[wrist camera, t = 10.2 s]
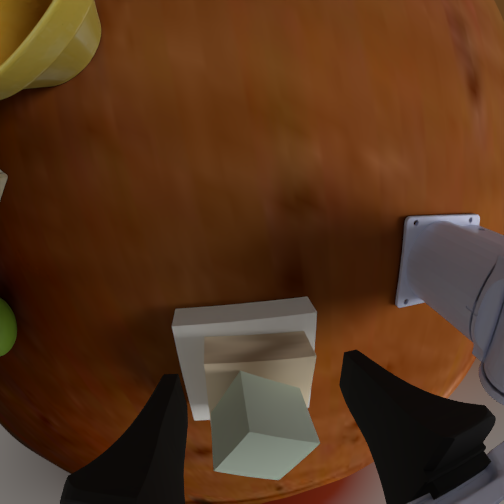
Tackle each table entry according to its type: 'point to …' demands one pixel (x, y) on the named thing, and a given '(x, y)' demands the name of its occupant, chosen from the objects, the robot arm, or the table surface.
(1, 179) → the skincare box
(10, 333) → the snail figurine
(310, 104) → the table surface
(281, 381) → the beech top block
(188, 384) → the grey base block
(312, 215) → the table surface
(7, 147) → the table surface
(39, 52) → the plant pot
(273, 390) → the sage block
